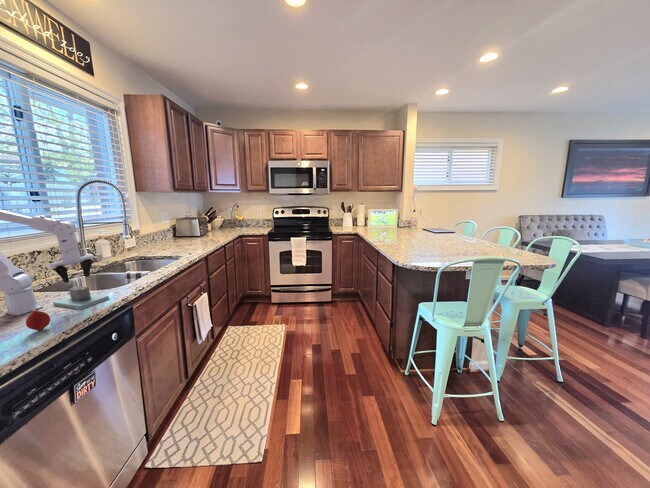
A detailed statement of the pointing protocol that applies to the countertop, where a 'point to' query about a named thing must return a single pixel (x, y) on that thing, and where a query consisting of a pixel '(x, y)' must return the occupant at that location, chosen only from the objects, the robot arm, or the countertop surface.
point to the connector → (79, 293)
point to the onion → (37, 320)
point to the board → (81, 302)
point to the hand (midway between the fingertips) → (77, 279)
